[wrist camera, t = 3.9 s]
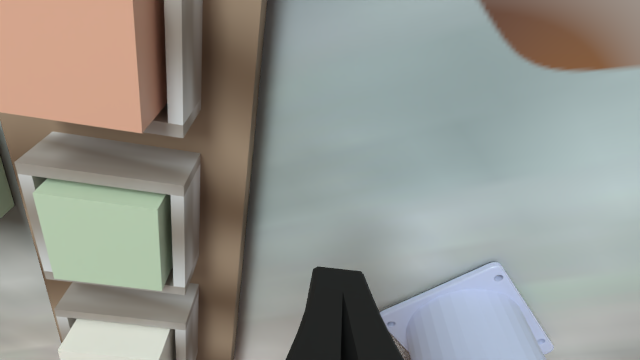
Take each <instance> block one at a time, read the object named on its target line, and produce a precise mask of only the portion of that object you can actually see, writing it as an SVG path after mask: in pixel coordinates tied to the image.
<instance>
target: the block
mask: <svg viewBox="0 0 640 360" xmlns="http://www.w3.org/2000/svg"><path fill="white" fill-rule="evenodd" d="M13 206H14V202H13V198H12V195H11V191H10V188H9V185H8V181H7V178H6V174H5V171H4V167H3V164H2V160H1V157H0V219H1V218H2V217H3V216H4V215H5V214H6V213H7V212H8V211H9V210H10V209H11V208H12V207H13Z"/></svg>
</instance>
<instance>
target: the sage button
mask: <svg viewBox="0 0 640 360" xmlns="http://www.w3.org/2000/svg"><path fill="white" fill-rule="evenodd" d="M33 197H34V201H35V205H36V209H37V213H38V217H39V221H40V225H41V229H42V233H43V237H44V241H45V244H46V248H47V252H48V256H49V260H50V264H51V268H52V272H53V276H54V279H61V280H70V281H79V282H87V283H96V284H104V285H113V286H122V287H130V288H139V289H147V290H156V291H162V290H163V288H164V285H165V283H166V281H167V278H168V276H169V274H170V271H171V269H172V267H173V254H172V224H171V195H168V194H161V193H154V192H146V191H139V190H132V189H125V188H117V187H110V186H103V185H95V184H88V183H81V182H73V181H66V180H59V179H51V178H47V179H46V180H45V181H44V182H43V183H42V184H41V185H40V186H39V187H38V188H37V189H36V190H35V191H34V192H33Z"/></svg>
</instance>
